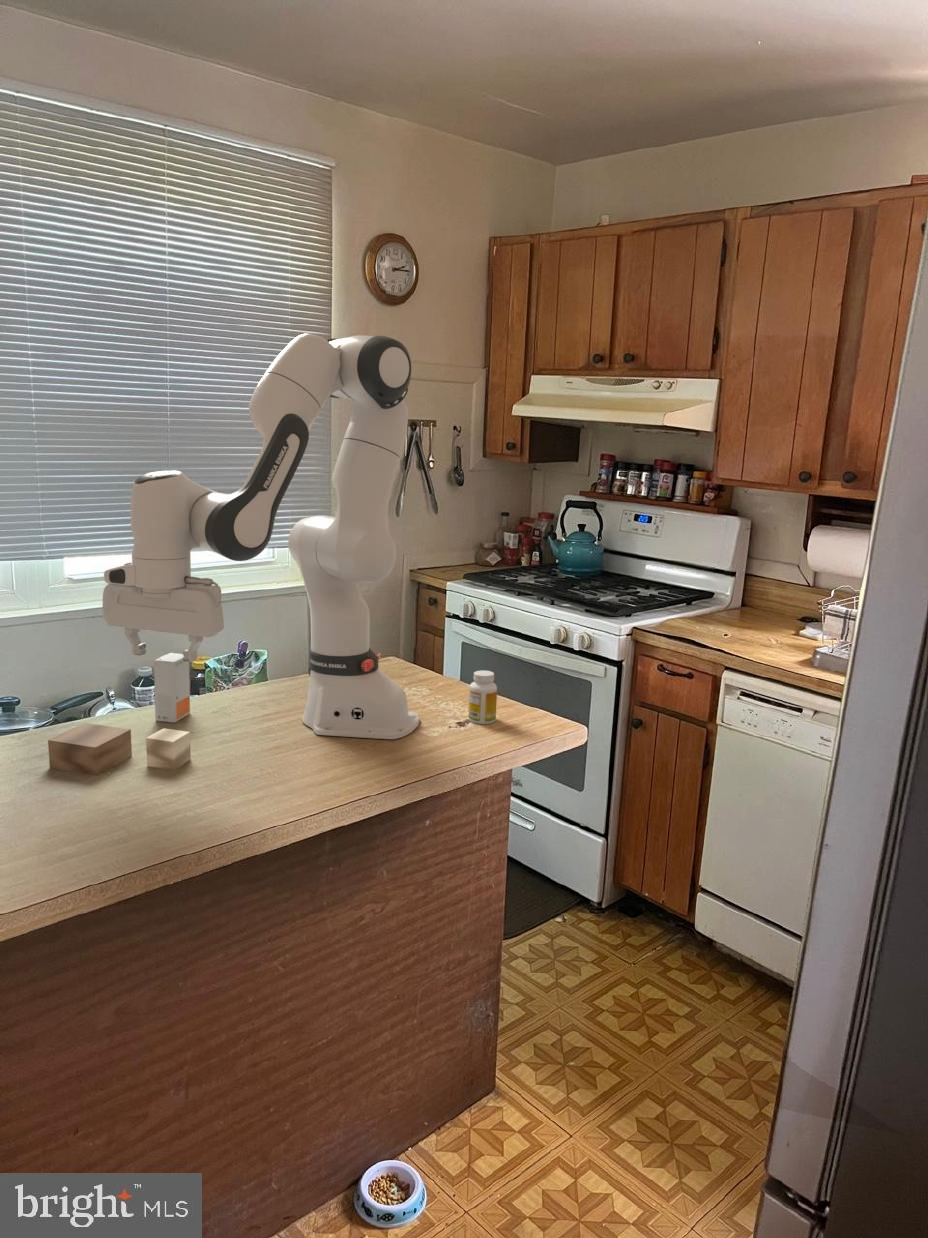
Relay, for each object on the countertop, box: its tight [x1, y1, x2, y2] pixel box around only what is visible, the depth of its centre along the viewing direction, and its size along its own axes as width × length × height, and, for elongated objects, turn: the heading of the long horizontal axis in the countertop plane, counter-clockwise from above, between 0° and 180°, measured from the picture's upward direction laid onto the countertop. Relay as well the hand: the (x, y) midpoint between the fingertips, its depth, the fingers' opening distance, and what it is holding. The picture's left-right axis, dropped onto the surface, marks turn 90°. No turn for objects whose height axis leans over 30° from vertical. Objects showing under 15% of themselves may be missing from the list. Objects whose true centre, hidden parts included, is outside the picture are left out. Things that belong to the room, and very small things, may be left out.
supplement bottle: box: [468, 670, 498, 725], centre depth 175 cm, size 5×5×10 cm
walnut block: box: [47, 722, 133, 776], centre depth 148 cm, size 9×9×5 cm
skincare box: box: [153, 652, 191, 723], centre depth 170 cm, size 6×4×12 cm
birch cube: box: [145, 728, 192, 771], centre depth 149 cm, size 5×5×5 cm
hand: (164, 657), depth 145 cm, fingers open, 8 cm apart
